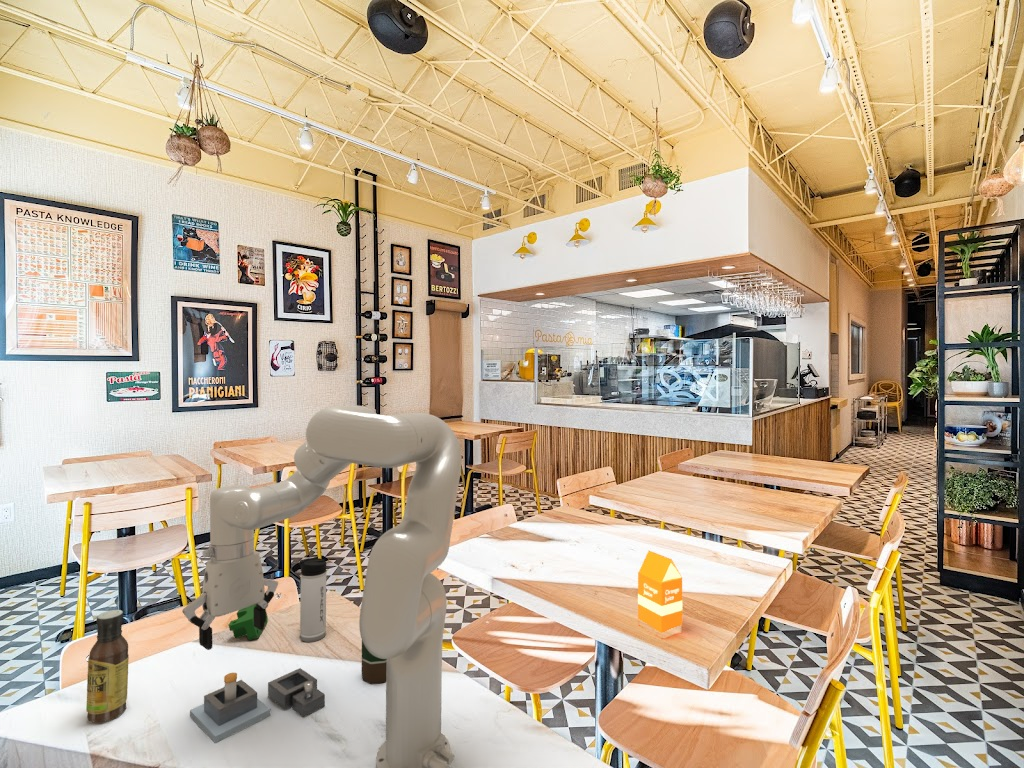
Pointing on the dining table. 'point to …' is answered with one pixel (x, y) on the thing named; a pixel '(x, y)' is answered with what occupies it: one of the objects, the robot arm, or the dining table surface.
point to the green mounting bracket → (245, 624)
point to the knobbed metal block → (308, 700)
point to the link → (288, 687)
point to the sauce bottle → (107, 670)
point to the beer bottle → (373, 667)
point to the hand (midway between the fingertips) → (234, 637)
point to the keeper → (234, 725)
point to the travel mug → (313, 599)
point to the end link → (230, 703)
